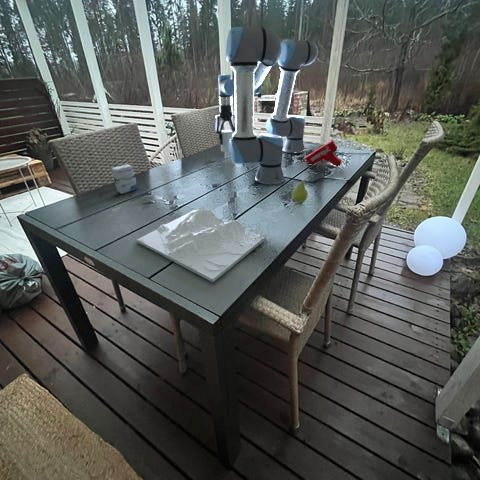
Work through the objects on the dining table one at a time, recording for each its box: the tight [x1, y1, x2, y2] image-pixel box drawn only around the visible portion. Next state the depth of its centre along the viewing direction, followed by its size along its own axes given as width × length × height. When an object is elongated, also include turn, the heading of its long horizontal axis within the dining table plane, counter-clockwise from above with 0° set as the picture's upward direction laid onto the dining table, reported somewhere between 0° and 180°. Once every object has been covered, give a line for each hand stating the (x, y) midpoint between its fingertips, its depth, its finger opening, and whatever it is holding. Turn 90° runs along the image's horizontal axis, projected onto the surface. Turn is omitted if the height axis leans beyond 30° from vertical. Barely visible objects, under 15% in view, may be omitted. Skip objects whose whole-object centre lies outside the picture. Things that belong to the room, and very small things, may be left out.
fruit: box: [291, 174, 311, 204], centre depth 118 cm, size 7×8×12 cm
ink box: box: [110, 164, 138, 195], centre depth 131 cm, size 8×5×12 cm, turn 135°
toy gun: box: [304, 139, 342, 169], centre depth 162 cm, size 18×4×15 cm
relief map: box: [136, 206, 266, 283], centre depth 93 cm, size 27×35×5 cm
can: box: [220, 129, 233, 153], centre depth 174 cm, size 8×8×12 cm
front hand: (226, 143), depth 175 cm, fingers closed on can, 8 cm apart
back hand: (256, 96), depth 202 cm, fingers open, 13 cm apart
